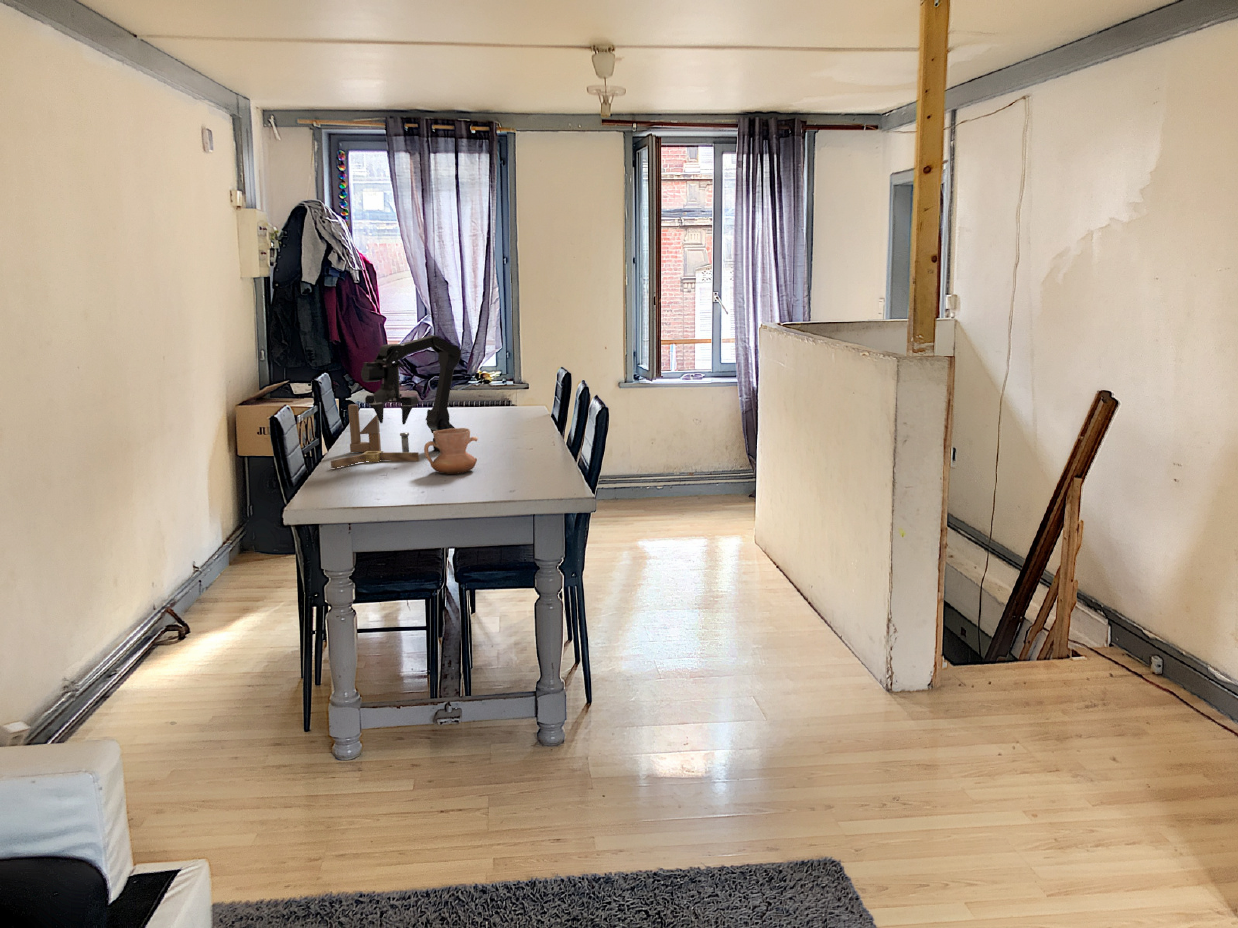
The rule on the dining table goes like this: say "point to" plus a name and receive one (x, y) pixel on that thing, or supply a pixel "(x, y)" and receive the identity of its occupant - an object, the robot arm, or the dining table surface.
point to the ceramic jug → (451, 451)
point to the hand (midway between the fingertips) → (392, 423)
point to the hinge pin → (405, 442)
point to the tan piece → (376, 457)
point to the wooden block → (363, 432)
